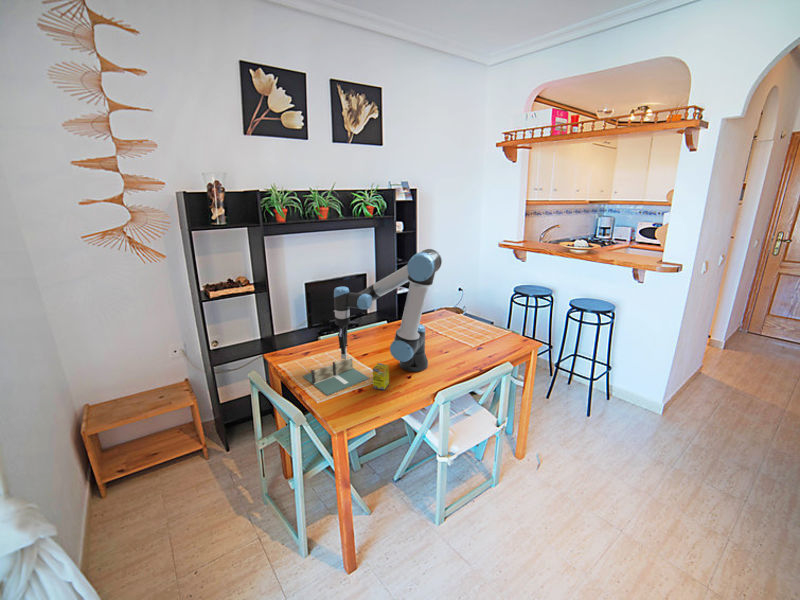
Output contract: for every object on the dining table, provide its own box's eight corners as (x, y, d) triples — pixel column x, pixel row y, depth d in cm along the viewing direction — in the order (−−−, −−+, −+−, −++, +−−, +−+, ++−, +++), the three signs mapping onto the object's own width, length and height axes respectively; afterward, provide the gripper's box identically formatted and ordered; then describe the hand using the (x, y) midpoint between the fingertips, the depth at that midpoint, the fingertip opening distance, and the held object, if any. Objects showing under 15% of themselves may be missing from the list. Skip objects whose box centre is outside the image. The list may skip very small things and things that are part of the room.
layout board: (369, 378, 187) (369, 377, 187) (327, 395, 172) (327, 394, 172) (343, 362, 204) (342, 361, 204) (302, 376, 189) (302, 375, 189)
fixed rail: (331, 375, 189) (330, 363, 187) (333, 376, 188) (332, 364, 186) (311, 382, 182) (310, 370, 180) (313, 384, 181) (312, 371, 179)
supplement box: (372, 388, 178) (372, 368, 174) (378, 382, 183) (377, 362, 180) (384, 391, 176) (384, 370, 172) (389, 385, 181) (389, 364, 178)
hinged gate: (334, 375, 189) (333, 363, 187) (332, 374, 190) (332, 362, 188) (352, 368, 196) (352, 356, 194) (351, 367, 197) (350, 356, 195)
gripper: (337, 312, 199) (339, 352, 206) (332, 321, 186) (334, 363, 193) (351, 312, 198) (353, 353, 205) (347, 321, 186) (348, 364, 193)
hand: (344, 358), depth 199 cm, fingers closed
